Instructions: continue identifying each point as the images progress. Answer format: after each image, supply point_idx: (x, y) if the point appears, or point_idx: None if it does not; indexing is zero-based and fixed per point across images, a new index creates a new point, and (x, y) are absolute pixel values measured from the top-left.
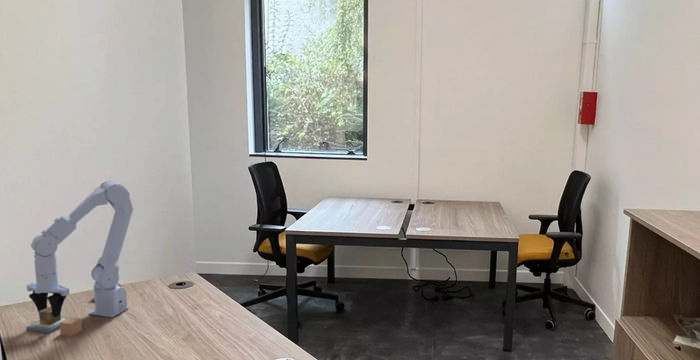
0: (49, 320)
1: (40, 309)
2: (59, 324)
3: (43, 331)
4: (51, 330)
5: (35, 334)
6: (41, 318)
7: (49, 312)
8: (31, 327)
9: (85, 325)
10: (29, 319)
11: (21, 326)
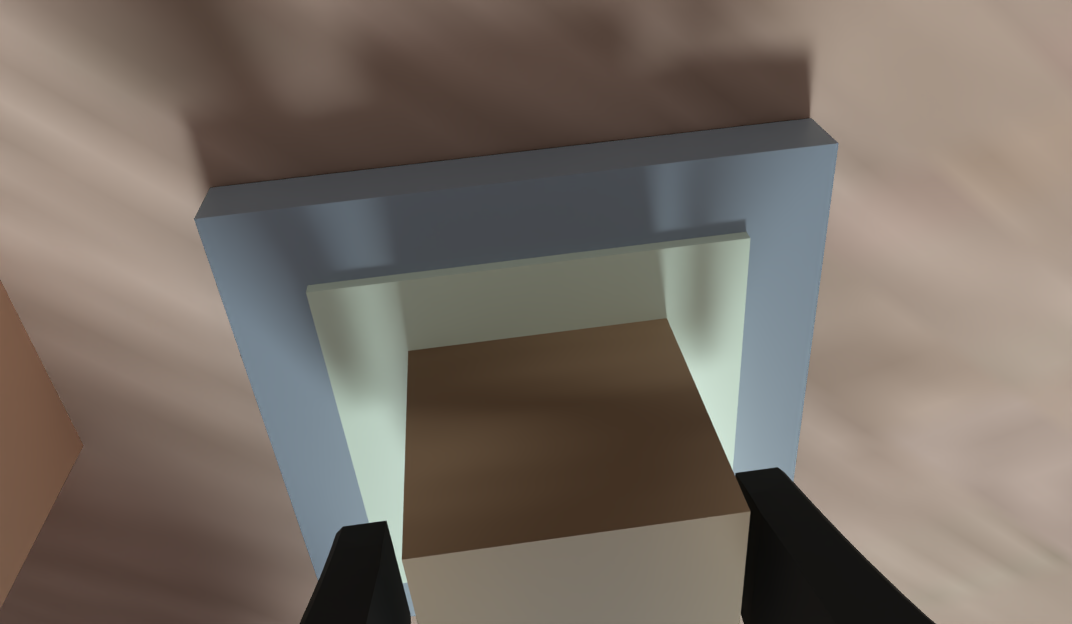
0: (418, 416)
1: (784, 576)
2: (307, 435)
3: (380, 176)
4: (208, 243)
5: (448, 41)
6: (640, 398)
7: (431, 577)
8: (704, 158)
9: (19, 578)
10: (1064, 377)
11: (1018, 168)
